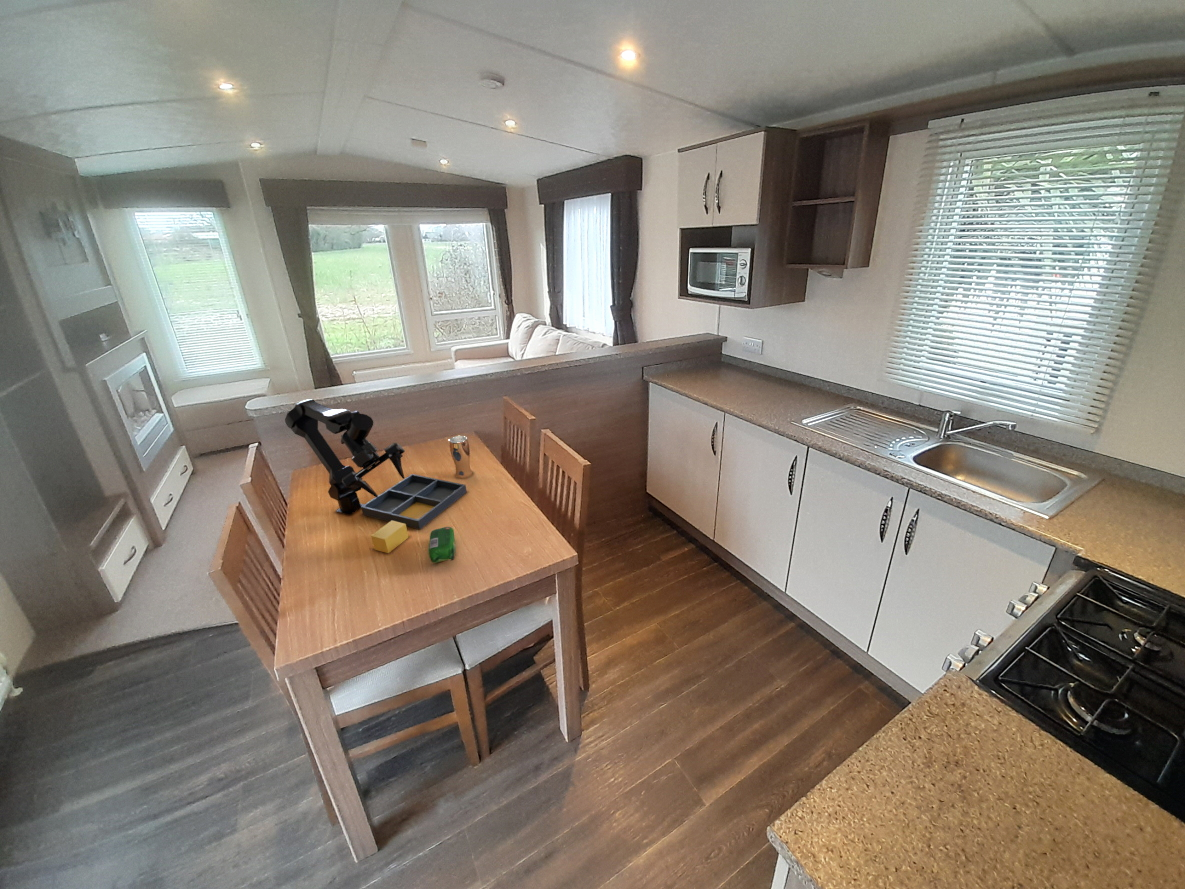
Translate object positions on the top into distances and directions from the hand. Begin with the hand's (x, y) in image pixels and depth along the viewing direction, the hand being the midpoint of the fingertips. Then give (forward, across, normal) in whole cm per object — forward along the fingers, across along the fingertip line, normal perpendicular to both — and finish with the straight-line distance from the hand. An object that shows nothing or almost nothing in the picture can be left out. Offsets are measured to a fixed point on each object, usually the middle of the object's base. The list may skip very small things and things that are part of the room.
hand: (390, 487), depth 142 cm
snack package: (+25, +1, -2) cm, 25 cm away
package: (+13, -10, +5) cm, 17 cm away
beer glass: (+4, +17, +39) cm, 42 cm away
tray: (+4, -1, +24) cm, 24 cm away
